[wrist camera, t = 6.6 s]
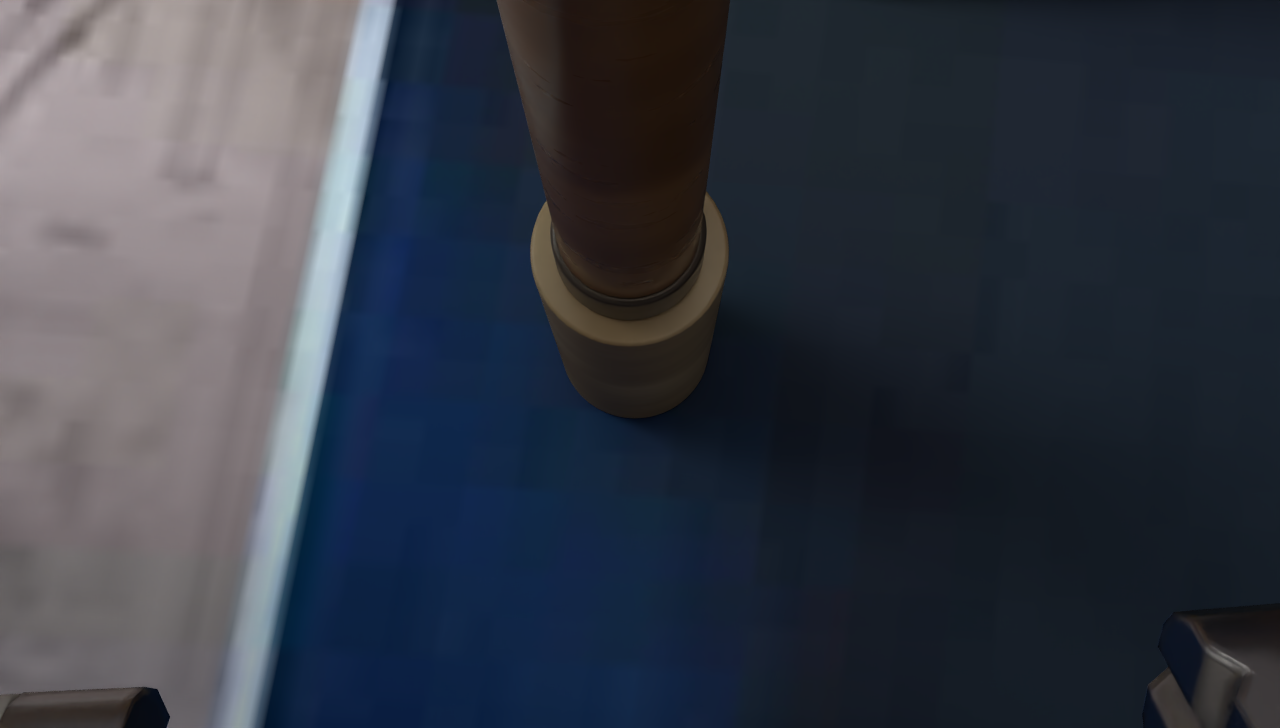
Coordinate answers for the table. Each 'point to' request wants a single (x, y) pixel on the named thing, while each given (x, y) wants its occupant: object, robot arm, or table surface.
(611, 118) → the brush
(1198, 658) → the robot arm
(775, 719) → the table surface
